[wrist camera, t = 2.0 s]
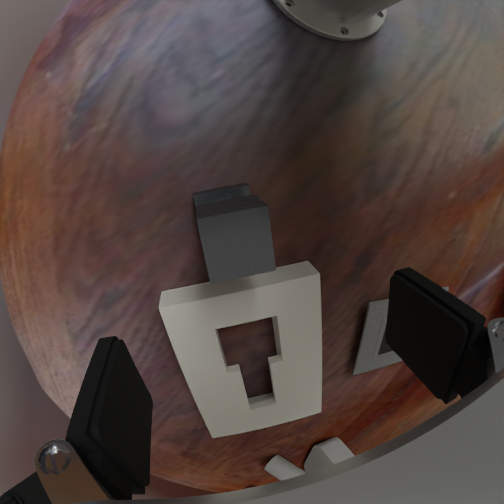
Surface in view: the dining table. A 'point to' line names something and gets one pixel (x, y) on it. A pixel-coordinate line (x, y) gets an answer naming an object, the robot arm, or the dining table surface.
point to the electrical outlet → (375, 340)
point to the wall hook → (311, 459)
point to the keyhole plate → (229, 378)
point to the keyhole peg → (234, 233)
